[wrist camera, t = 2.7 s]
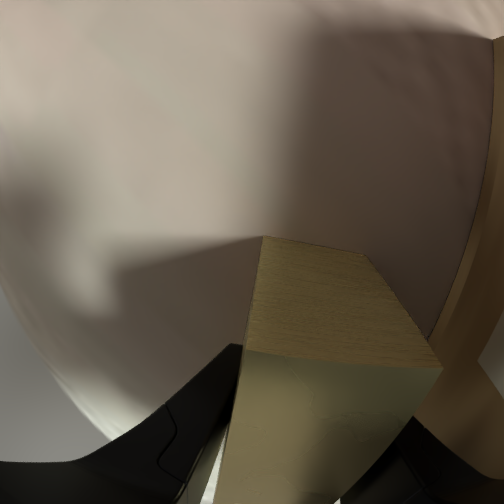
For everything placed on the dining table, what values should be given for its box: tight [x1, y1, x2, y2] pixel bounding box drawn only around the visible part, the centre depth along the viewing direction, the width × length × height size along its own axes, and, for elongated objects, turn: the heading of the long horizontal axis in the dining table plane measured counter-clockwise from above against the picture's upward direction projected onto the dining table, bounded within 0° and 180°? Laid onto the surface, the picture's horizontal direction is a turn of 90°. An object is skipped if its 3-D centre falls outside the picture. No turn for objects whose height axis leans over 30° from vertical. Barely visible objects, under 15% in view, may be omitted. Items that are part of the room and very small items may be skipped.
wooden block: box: [213, 236, 443, 504], centre depth 7 cm, size 7×3×5 cm, turn 171°
